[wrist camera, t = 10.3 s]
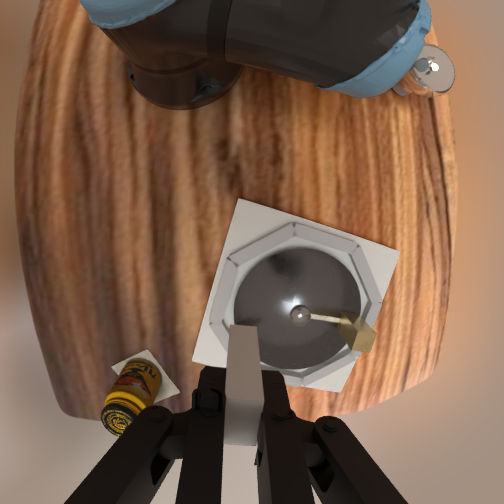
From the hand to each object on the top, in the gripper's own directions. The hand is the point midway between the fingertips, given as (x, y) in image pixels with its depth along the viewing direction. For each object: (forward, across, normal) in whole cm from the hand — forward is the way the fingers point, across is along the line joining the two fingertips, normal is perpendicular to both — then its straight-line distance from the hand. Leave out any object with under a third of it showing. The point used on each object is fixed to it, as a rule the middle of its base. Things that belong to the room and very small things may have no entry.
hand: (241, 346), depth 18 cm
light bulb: (+24, +19, +25) cm, 40 cm away
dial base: (+23, +8, -6) cm, 25 cm away
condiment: (+22, -12, -20) cm, 33 cm away
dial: (+21, +8, -6) cm, 23 cm away
